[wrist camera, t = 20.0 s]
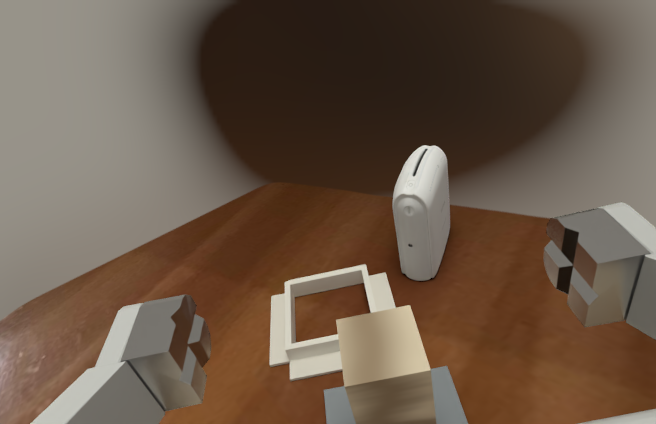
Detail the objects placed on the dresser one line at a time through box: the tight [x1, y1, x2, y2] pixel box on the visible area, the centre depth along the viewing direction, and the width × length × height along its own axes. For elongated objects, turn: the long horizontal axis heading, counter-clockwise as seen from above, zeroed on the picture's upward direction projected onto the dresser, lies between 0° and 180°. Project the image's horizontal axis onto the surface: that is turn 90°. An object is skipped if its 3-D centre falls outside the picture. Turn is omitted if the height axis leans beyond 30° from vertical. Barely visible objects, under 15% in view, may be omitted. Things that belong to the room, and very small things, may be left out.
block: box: [336, 305, 436, 424], centre depth 30 cm, size 5×5×12 cm
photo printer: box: [393, 145, 450, 281], centre depth 48 cm, size 10×4×12 cm, turn 157°
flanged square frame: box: [270, 265, 396, 381], centre depth 45 cm, size 13×13×2 cm
